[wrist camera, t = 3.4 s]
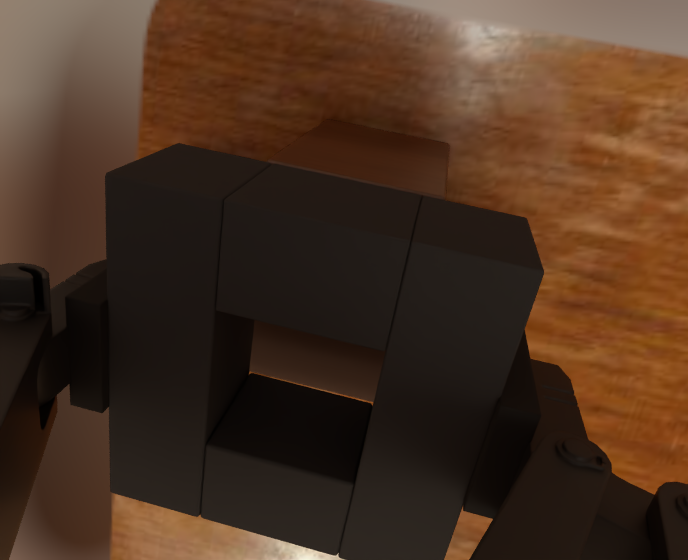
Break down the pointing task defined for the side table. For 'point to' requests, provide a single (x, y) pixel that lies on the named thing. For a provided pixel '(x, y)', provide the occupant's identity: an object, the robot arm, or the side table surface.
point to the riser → (363, 166)
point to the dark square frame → (315, 318)
